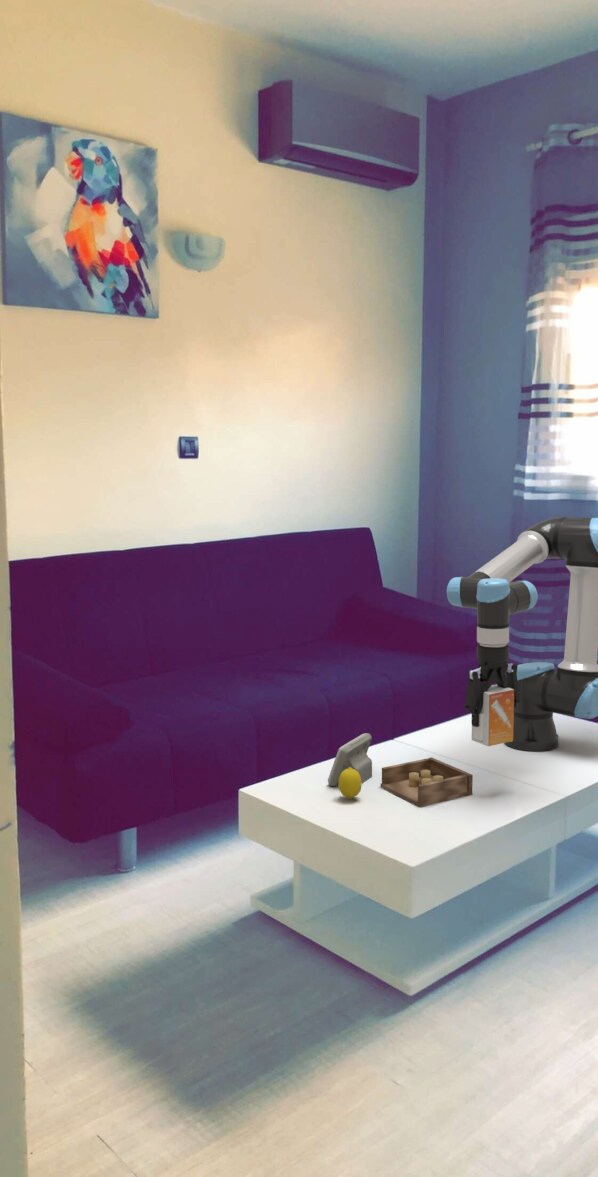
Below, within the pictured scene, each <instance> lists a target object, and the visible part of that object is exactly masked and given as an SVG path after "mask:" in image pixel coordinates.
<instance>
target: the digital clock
mask: <svg viewBox="0 0 598 1177" xmlns="http://www.w3.org/2000/svg"><path fill="white" fill-rule="evenodd" d="M372 740H373V739H372V735H371V733H367V732H366V733H362V734H360V735H359V736H357V737H355V738H354V739H352V740H350V741H348V742H347V743H345V744H344V745H342V746H340V747H339V748H338V749H337V753H336V756H335V759H334V761H333V764H332V766H331V770H330V773H329V776H328V777H327V783H328V785H329V786H330V787H336V786H339V777H340V774H341V773H342V772H343V771H344V770H345V769H348V768H349V767H351V768H352V769H354V770H356V771H357V772H358V773H359V774H360V777H361V783H362V784H363V783H364V782H366V781H368V780H369V779H370V778H371V777H373V761H372V759H371V758H370V757H369V756H368V751H369V748H370V746H371V742H372Z"/></svg>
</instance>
